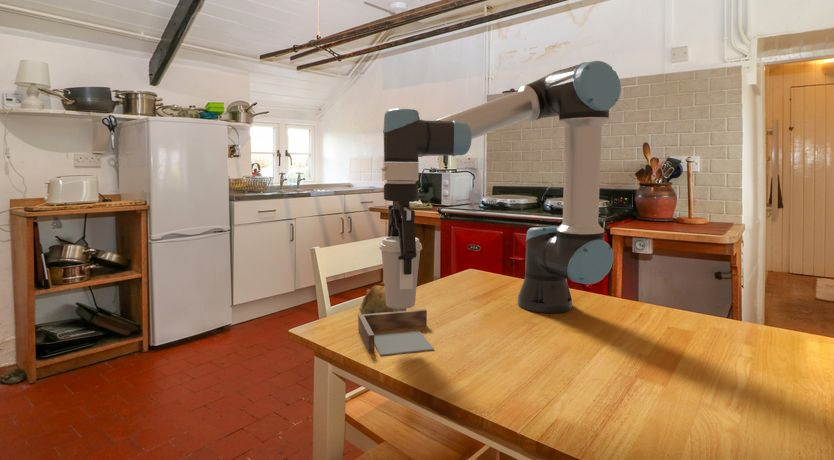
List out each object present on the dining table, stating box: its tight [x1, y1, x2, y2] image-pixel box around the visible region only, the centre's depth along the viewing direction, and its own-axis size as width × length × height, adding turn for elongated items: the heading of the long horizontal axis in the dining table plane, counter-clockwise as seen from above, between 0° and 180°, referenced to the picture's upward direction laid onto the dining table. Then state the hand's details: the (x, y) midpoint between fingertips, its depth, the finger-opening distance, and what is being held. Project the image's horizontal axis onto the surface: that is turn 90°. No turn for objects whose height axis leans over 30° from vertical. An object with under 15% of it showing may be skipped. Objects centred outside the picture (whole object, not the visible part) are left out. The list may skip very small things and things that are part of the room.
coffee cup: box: [378, 236, 423, 310], centre depth 106 cm, size 10×10×15 cm
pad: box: [374, 329, 435, 357], centre depth 108 cm, size 12×12×1 cm
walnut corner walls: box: [357, 308, 428, 354], centre depth 111 cm, size 17×15×4 cm
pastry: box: [358, 285, 407, 314], centre depth 129 cm, size 14×12×8 cm
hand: (400, 282), depth 106 cm, fingers closed on coffee cup, 9 cm apart
